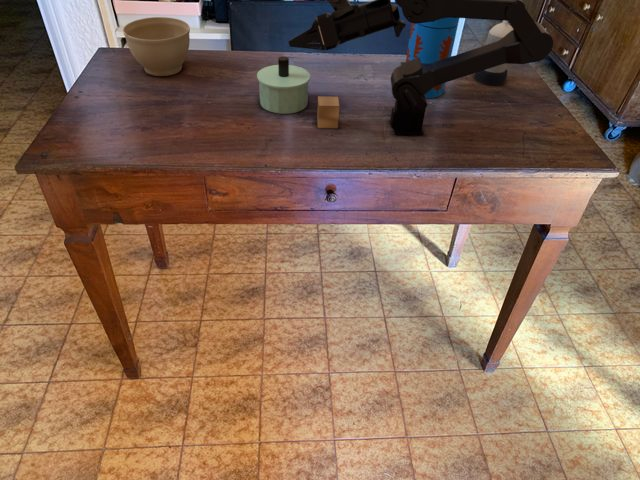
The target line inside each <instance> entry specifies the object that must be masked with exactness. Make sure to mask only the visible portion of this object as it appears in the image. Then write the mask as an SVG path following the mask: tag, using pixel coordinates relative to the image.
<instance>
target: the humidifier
mask: <svg viewBox="0 0 640 480" xmlns="http://www.w3.org/2000/svg"><path fill="white" fill-rule="evenodd" d="M512 30H514V29H513V28H512V26H511V25H510V23H509V22H508V21H506V20H502V21H501V22H499V23H497V24H495V25H494V26H493V27H492V28H490V29H489V30H488V31H489V32H488V34H487V38H486V41H485V45H488V44H491V43H494V42H497V41H499V40H501V39H502V38H503V37H504V36H506V35H507V34H508V33H509V32H510V31H512ZM507 68H508V63H506V64H502V65H499V66H495V67H492V68H489V69H486V70H483V71H480V72H477V73H474V80H475V81H476V82H478V83H480V84H482V85H486V86H491V87H493V86H495V87H496V86H502V85H504V84H505V83H506V80H507V77H508V69H507Z"/></svg>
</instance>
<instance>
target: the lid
mask: <svg viewBox="0 0 640 480" xmlns="http://www.w3.org/2000/svg"><path fill="white" fill-rule="evenodd" d="M277 61H278V62H277V63H278V64H273V65H268V66H265V67H263V68H261V69H260V70H258V72H257V74H256V79H257V81H258V83H259V82H260V83H262V84H264V85H266V86H269V87H272V88H279V89H290V88H296V87H300V86H303V85H305V84H307V83H308V84H309V82H310V80H311V74H310V72H309V71H308V70H306V69H305V68H303V67H300V66H297V65H293V64H290V58H289V57H288V56H284V55H283V56H279V57H278V58H277Z"/></svg>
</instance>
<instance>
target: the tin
mask: <svg viewBox="0 0 640 480" xmlns="http://www.w3.org/2000/svg"><path fill="white" fill-rule="evenodd" d="M258 84H259V85H258V87H259V90H258V91H259V103H260V106H261V107H262V109H264V110H266V111H268V112H271V113H274V114H283V115H287V114H294V113H298V112H301V111H303V110H305V109H306V107H307V106H308V100H309V99H308V97H309V82H308V83H307V84H305V85H303V86H300V87H296V88H290V89H279V88H272V87H269V86H266V85H264V84H262V83H260V82H259V81H258Z"/></svg>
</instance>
